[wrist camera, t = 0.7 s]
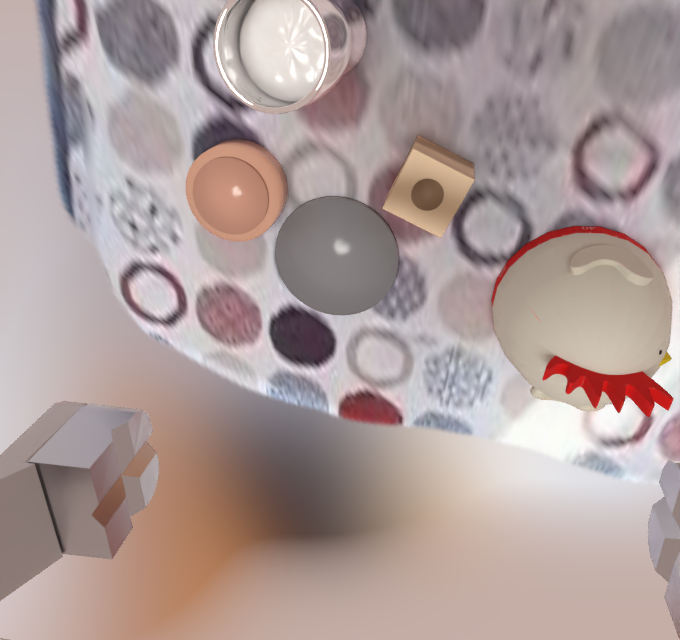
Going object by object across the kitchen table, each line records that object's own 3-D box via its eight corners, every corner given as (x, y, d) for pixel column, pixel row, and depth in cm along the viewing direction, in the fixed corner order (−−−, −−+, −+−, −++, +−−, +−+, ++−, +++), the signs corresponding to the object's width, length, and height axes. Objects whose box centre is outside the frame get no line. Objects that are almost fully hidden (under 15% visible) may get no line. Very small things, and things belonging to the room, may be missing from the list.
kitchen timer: (631, 384, 55) (681, 506, 42) (477, 356, 56) (479, 465, 43) (689, 240, 48) (771, 331, 35) (512, 212, 50) (528, 290, 37)
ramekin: (215, 121, 51) (199, 130, 48) (302, 165, 51) (291, 176, 48) (188, 204, 55) (172, 217, 52) (269, 244, 55) (257, 259, 52)
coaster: (304, 174, 51) (302, 175, 51) (421, 232, 52) (420, 234, 51) (260, 279, 57) (258, 281, 56) (366, 331, 57) (365, 334, 57)
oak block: (417, 134, 48) (412, 148, 44) (473, 163, 48) (474, 180, 44) (389, 190, 51) (382, 208, 46) (443, 217, 51) (441, 238, 46)
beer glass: (391, 43, 45) (360, 63, 32) (321, 103, 48) (266, 143, 35) (333, -41, 44) (275, -56, 31) (263, 26, 47) (184, 39, 34)
